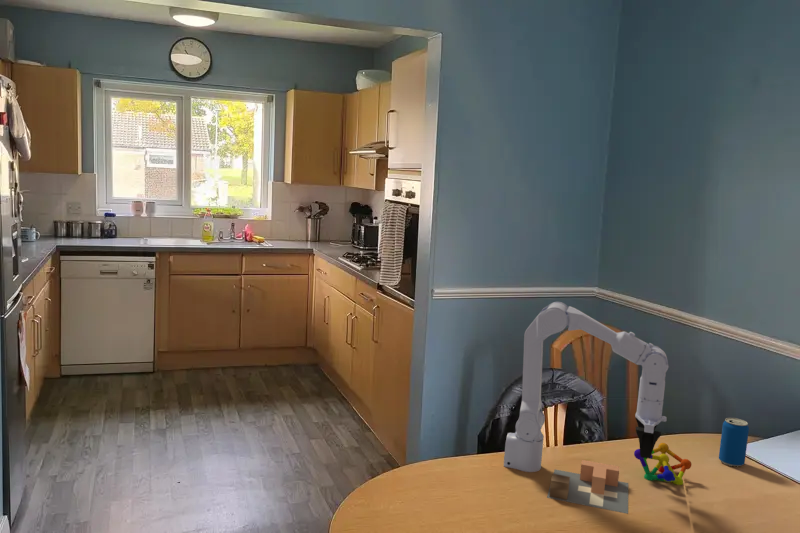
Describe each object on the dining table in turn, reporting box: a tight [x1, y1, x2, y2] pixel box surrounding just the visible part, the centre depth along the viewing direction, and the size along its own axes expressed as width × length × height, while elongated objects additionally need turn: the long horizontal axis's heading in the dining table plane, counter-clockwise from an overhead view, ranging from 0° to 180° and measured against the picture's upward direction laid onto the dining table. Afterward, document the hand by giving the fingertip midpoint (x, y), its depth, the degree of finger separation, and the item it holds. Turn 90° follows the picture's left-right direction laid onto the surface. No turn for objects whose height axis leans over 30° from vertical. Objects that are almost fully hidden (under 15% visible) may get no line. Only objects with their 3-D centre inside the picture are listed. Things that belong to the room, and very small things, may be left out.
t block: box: [579, 459, 620, 495], centre depth 166 cm, size 9×9×4 cm
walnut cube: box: [549, 473, 570, 500], centre depth 160 cm, size 4×4×4 cm
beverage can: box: [718, 417, 750, 468], centre depth 187 cm, size 6×6×12 cm
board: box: [546, 469, 629, 515], centre depth 163 cm, size 18×17×1 cm
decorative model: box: [633, 442, 692, 486], centre depth 174 cm, size 13×9×15 cm
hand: (644, 451), depth 165 cm, fingers open, 7 cm apart
